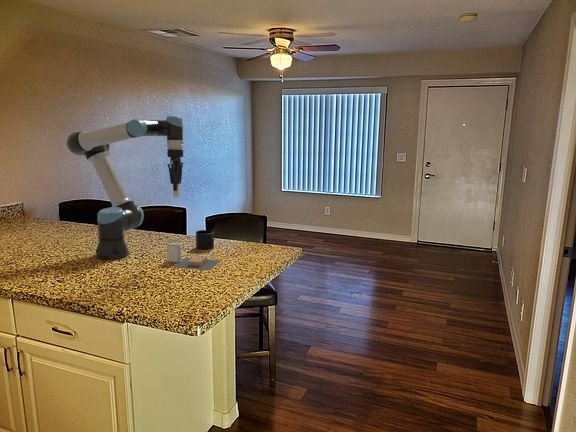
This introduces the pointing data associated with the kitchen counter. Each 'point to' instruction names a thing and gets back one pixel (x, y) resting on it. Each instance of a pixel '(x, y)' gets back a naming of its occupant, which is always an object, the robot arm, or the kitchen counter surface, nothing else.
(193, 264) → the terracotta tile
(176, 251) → the grey tile
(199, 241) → the mug
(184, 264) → the mat
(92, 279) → the kitchen counter surface
